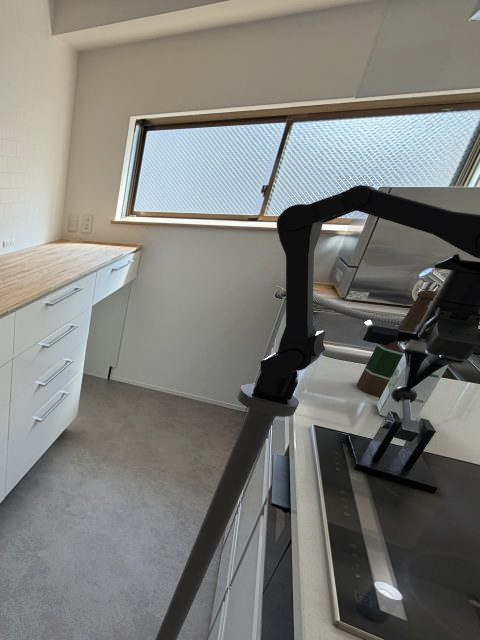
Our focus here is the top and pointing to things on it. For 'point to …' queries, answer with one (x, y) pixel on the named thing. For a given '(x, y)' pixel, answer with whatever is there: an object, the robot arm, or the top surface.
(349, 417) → the top surface
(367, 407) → the top surface
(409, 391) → the lever
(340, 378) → the top surface
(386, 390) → the syrup box
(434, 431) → the black two-post stand
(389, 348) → the beer bottle
